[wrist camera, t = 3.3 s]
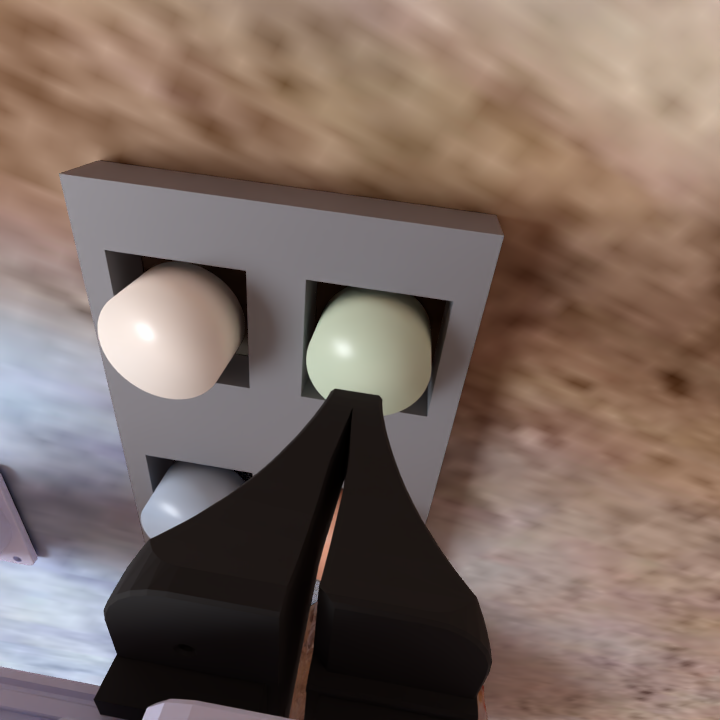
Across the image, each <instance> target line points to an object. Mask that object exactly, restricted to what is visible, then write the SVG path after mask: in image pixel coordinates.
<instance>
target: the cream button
mask: <svg viewBox="0 0 720 720" xmlns="http://www.w3.org/2000/svg"><path fill="white" fill-rule="evenodd" d="M244 333H245V318H244V314H243V310H242V308H241V305H240V303H239V301H238V299H237V297H236V296H235V294H234V293H233V292H232V290H231V289H230V288H229V287H228V286H227V285H226V284H225V283H224V282H223V281H222V280H221V279H220V278H218V277H217V276H216V275H214V274H213V273H211V272H210V271H208V270H206V269H204V268H202V267H200V266H197V265H194V264H190V263H185V262H166V263H161V264H158V265H156V266H154V267H152V268H150V269H149V270H147V271H146V272H145V273H144V274H142V275H141V276H140V277H138V278H137V279H136V280H135V281H133V282H132V283H131V284H129V285H128V286H127V287H126V288H124V289H123V290H122V291H120V292H119V293H118V294H117V295H115V296H114V297H113V298H111V299H110V300H109V301H108V302H107V303H106V304H105V305H104V307H103V309H102V310H101V312H100V315H99V318H98V337H99V341H100V345H101V347H102V350H103V352H104V354H105V355H106V357H107V359H108V360H109V362H110V363H111V365H112V366H113V367H114V368H115V369H116V370H117V372H118V373H119V374H121V375H122V376H123V377H124V378H125V379H126V380H128V381H129V382H130V383H132V384H133V385H135V386H136V387H138V388H140V389H141V390H143V391H145V392H148V393H150V394H153V395H156V396H159V397H163V398H168V399H189V398H193V397H197V396H199V395H202V394H203V393H205V392H207V391H208V390H209V389H210V388H212V387H213V385H214V384H215V383H216V382H217V380H218V379H219V377H220V375H221V374H222V372H223V371H224V369H225V368H226V366H227V365H228V363H229V362H230V360H231V359H232V357H233V355H234V354H235V352H236V351H237V349H238V348H239V346H240V344H241V343H242V340H243V337H244Z"/></svg>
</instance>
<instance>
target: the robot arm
mask: <svg viewBox="0 0 720 720" xmlns="http://www.w3.org/2000/svg"><path fill="white" fill-rule="evenodd" d="M382 401H383V399H382V398H381V397H380V396H379V395H374V394H367V393H361V392H355V391H348V390H342V389H336V388H335V389H334V390H332V391H331V392H330V393H329V395H328V397H327V398H326V400H325V401H324V403H323V404H322V406H321V407H320V408H319V410H318V411H317V412H316V414H315V415H314V416H313V417H312V419H311V420H310V421H309V422H308V423H307V424H306V426H305V427H304V428H303V429H302V430H301V432H300V433H299V434H298V435H297V436H296V437H295V438H294V439H293V440H292V441H291V442H290V443H289V444H288V445H287V446H286V447H285V448H284V449H283V450H282V451H281V452H280V453H279V454H278V455H277V456H276V457H275V458H274V459H273V460H272V461H271V462H270V463H268V464H267V465H266V466H265V467H264V468H263V469H261V470H260V471H259V472H258V473H257V474H255V475H254V476H253V477H252V478H250V479H249V480H248V481H246V482H245V483H244V484H242V485H241V486H240V487H238V488H237V489H236V490H234V491H233V492H231V493H230V494H229V495H227V496H226V497H224V498H223V499H221V500H219V501H218V502H216V503H215V504H213V505H211V506H210V507H208V508H207V509H205V510H203V511H202V512H200V513H199V514H197V515H195V516H194V517H192V518H190V519H188V520H186V521H185V522H183V523H181V524H179V525H177V526H175V527H173V528H171V529H169V530H167V531H165V532H163V533H161V534H159V535H157V536H155V537H153V538H151V539H149V540H148V541H147V542H146V544H145V545H144V546H143V548H142V549H141V550H140V551H139V553H138V554H137V555H136V557H135V558H134V559H133V561H132V562H131V563H130V565H129V566H128V567H127V569H126V571H125V572H124V574H123V575H122V577H121V579H120V581H119V582H118V584H117V586H116V587H115V589H114V591H113V593H112V594H111V596H110V598H109V600H108V601H107V604H106V606H105V608H104V616H105V621H106V624H107V627H108V630H109V633H110V636H111V638H112V641H113V644H114V647H115V650H116V653H117V655H116V657H115V659H114V661H113V663H112V665H111V667H110V669H109V671H108V673H107V674H106V676H105V678H104V680H103V682H102V684H101V686H97V685H92V684H87V683H82V682H77V681H71V680H66V679H61V678H56V677H51V676H46V675H41V674H35V673H30V672H25V671H20V670H15V669H10V668H5V667H0V720H294V719H289V715H290V710H291V704H292V699H293V694H294V688H295V683H296V678H297V673H298V668H299V663H300V658H301V652H302V647H303V642H304V637H305V632H306V627H307V622H308V617H309V612H310V607H311V602H312V597H313V592H314V587H315V582H316V577H317V573H318V568H319V563H320V559H321V556H322V552H323V548H324V545H325V541H326V538H327V535H328V532H329V528H330V525H331V522H332V518H333V515H334V512H335V509H336V505H337V502H338V499H339V495H340V492H341V489H342V485H343V482H344V488H343V492H342V497H341V501H340V505H339V510H338V514H337V518H336V522H335V527H334V531H333V535H332V539H331V543H330V547H329V551H328V555H327V559H326V562H325V566H324V570H323V574H322V578H321V581H320V585H319V593H318V604H317V615H316V626H315V636H314V647H313V654H312V659H311V664H310V669H309V674H308V679H307V684H306V702H305V714H304V720H478V702H477V695H478V693H479V691H480V689H481V687H482V685H483V683H484V682H485V680H486V678H487V676H488V674H489V672H490V668H491V664H492V658H491V649H490V643H489V639H488V634H487V629H486V626H485V622H484V618H483V615H482V612H481V609H480V605H479V602H478V600H477V597H476V596H475V595H474V593H473V592H472V591H471V590H470V589H469V587H468V586H467V585H466V584H465V582H464V581H463V580H462V578H461V577H460V576H459V575H458V573H457V572H456V571H455V569H454V568H453V567H452V565H451V564H450V562H449V561H448V560H447V558H446V557H445V555H444V554H443V552H442V551H441V550H440V548H439V546H438V545H437V543H436V542H435V540H434V538H433V537H432V535H431V533H430V532H429V530H428V529H427V527H426V525H425V524H424V522H423V520H422V519H421V517H420V515H419V513H418V511H417V509H416V507H415V505H414V504H413V501H412V499H411V497H410V495H409V493H408V491H407V489H406V487H405V484H404V482H403V479H402V477H401V475H400V472H399V469H398V467H397V464H396V461H395V458H394V455H393V452H392V449H391V445H390V442H389V439H388V435H387V431H386V426H385V421H384V416H383V406H382ZM37 559H38V558H37V555H36V552H35V550H34V548H33V546H32V543H31V541H30V539H29V536H28V534H27V532H26V530H25V527H24V525H23V523H22V521H21V518H20V516H19V514H18V511H17V509H16V507H15V505H14V502H13V500H12V498H11V496H10V493H9V491H8V489H7V487H6V484H5V482H4V480H3V477H2V475H1V473H0V560H2V561H8V562H13V563H18V564H24V565H33V564H34V563H35V561H36V560H37Z"/></svg>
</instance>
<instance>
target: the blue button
mask: <svg viewBox="0 0 720 720" xmlns="http://www.w3.org/2000/svg"><path fill="white" fill-rule="evenodd" d="M244 483H245V481H244V480H243V479H242V478H241V477H240V476H239V475H238V474H237V473H236V472H234V471H233V470H231V469H226V468H220V467H214V466H208V465H202V464H196V463H190V462H184V461H178V462H176V463H174V464H173V465H172V466H171V467H170V468H169V469H168V471H167V472H166V474H165V475H164V477H163V478H162V480H161V482H160V483H159V485H158V486H157V488H156V490H155V491H154V493H153V494H152V496H151V498H150V499H149V501H148V502H147V504H146V505H145V507H144V509H143V510H142V513H141V524H142V527H143V529H144V531H145V532H146V534H147V535H148V536H149V537H150V539H151V538H153V537H155V536H157V535H159V534H161V533H163V532H165V531H167V530H169V529H171V528H173V527H175V526H177V525H179V524H181V523H183V522H185V521H186V520H188V519H190V518H192V517H194V516H195V515H197V514H199V513H200V512H202V511H203V510H205V509H207V508H208V507H210V506H211V505H213V504H215V503H216V502H218V501H219V500H221V499H223V498H224V497H226V496H227V495H229V494H230V493H231V492H233V491H234V490H236V489H237V488H238V487H240V486H241V485H242V484H244Z"/></svg>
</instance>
